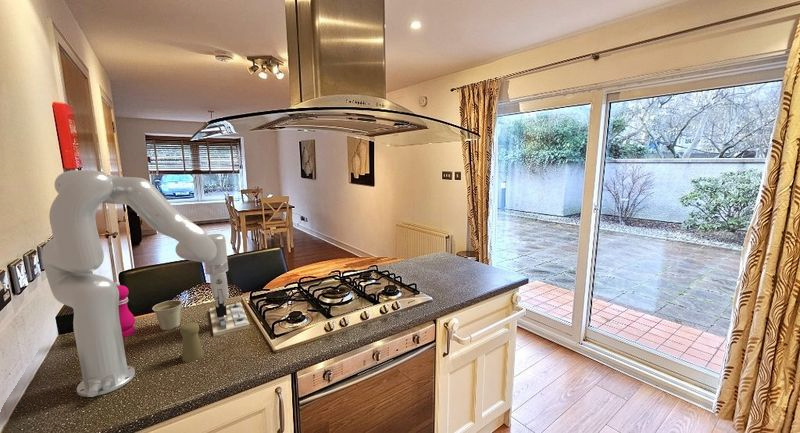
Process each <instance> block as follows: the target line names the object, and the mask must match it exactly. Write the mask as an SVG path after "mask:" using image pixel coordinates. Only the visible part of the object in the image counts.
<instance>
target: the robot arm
mask: <svg viewBox="0 0 800 433" xmlns="http://www.w3.org/2000/svg"><path fill="white" fill-rule="evenodd" d="M54 189H55V191H56V193H57V195H56V197H55V198H54V199H53V201H52V203H51V205H50V209H49V216H48V217H49V218H48V219H49V224H50V228H51V229H50V230H51V233H52V238H51V239H49V240H48V241H47V242H46V244H45V245H44V246H43V248H42V250H41V251H42V252H41V261H42V265H43V268H44V272H45V275H46V279H47V281H48V285H49V288H50V291H51V293H52V296H53V298H55V300H57V302H59V303H61V304H62V305H65V306H67V307H70V308H72V309H73V320H72V321H73V322H72V324H73V326H72V327H73V335H74V339H75V343H76V349H77V356H78V360H79V365H80V366H79V367H80V372H81V378H82V380H81V382H80V383H79V384H78V385H77V387H76V393H77V395H78V396H80V397H85V398H90V397H91V398H93V397H98V396H101V395H105V394H108V393H111V392H113V391H116V390H118V389H119V388H122V387H124V386H125V385H127V384H128V383H129V382H131V381H132V380H133V378H134V377H135V375H136V371H135V370H136V369H135V368H134V367H133V366H130V365H128V364H127V363H128V362H127V358H126V350H125V345H124V338H123V337H122V331H121V325H120V319H119V291H118V288H117V286H116V284H115V282H114V281H113V280H112V279H110V278H108V277H105V276H102V275H99V274H96V273H95V274H94V271H96V270H97V269H99V268H100V267H101V265H102V264H103V263H104V259H105V255H104V249H103V245H102V243H101V239H100V236H99V232H98V231H99V230H98V228H97V221H96V215H97V214H96V213H97V211H98V209H99V207H100V206H101V204H109V205H110V204H111V205H125V206H129V207H130V209H132V210H133V211H134V212H135V213H136V214H137V215H138V216H139V217H140V218H141V219H142V220H143V221H144V222H146V224H147V225H148V226H149V227H150V228H152V229H153V230H154V231H156V232H158V233H160V234H161V235H164V236H165V237H166V236H167V237H169V238H171V239H174V240H175V241H177V244H176V245H175V249H174V250H175V253H176V255H177V256H178V257H179V258H180V259H183V260H188V261H192V262H198V263H204V271H205V275H209V282H210V288H211V293H212V296H213V300H214V301H215V304H214V306H215V305H216V303H217V307H216V313H217V317H222V316H226V315H227V311H226V305H225V303H226V300H225V299H229V297H230V295H229V287H228V278H227V273H226V272H228V271H229V263H228V262H229V261H228V252H227V251H228V250H227V243H226V237H225V235H224V234H221V233H213V234H211V233H210V234H208V233H206V232H205V230H204V229H202V227H200V226H198V225H197V224H195V223H194V222H193V221H192V220H190V219H189V218H187V217H186V216H185V215H183V214H181V213H180V211H178V210H177V209H176V208H175V207H174V206H173V205H172V204H171V203H170V201H168V200H167V198H166V197H165V196H164V195H163V194H162V193H161V191H159V190H158V189H157V188H156V186H155V185H154V184H153V183H151V181H149V179H146V178H144V177H138V176H137V177H135V176H133V177H132V176H116V175H109V174H107V173H105V172H103V171H99V170H93V169H84V170H83V169H80V170H79V169H78V170H77V169H73V170H72V169H71V170H67V171H65V172H61V173H60V174H59V175H58V176H56V178H55V181H54Z"/></svg>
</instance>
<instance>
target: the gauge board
mask: <svg viewBox="0 0 800 433" xmlns="http://www.w3.org/2000/svg"><path fill="white" fill-rule="evenodd" d="M225 305H226V311H227V314H228V313H233V312H237V311H239V313H240V317H238V314H235V315H231V316H227V317H228V322H226V319H222V320H219V324H217V317H216V316H217V313H216V305H215V304H214V307H211V308H209V315H210V321H211V328H212V334H213V337H217V336H221V335H224V334H229V333H232V332H233V333H234V332H237V331H241V330H245V329H249V328H250V327H251V324H250V322H249V319H248V317H247V315H246V312H245V309H244V307H243V303H242V302H241V301H239V302H237V301H231V302H225Z"/></svg>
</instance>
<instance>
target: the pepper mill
mask: <svg viewBox="0 0 800 433" xmlns="http://www.w3.org/2000/svg"><path fill="white" fill-rule="evenodd" d="M114 283H115V284H116V286H117V288H118V291H119V319H120V325H121V331H122V337H123V339H124V338H127V337H130V336H132V335H134V334H135V333H136V327H135V326H134V325H135V324H136V318H135V316H134V314H133V313H132V312H131V311H130V309H129V307H128V302H129V298H128V296H129V288H128V287H127V286H125V285H122V284H120V283H121V282H118V281H115V282H114Z"/></svg>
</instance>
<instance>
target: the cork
mask: <svg viewBox="0 0 800 433" xmlns="http://www.w3.org/2000/svg"><path fill="white" fill-rule="evenodd" d="M179 332H180V335H181V336H182V351H181V352H182V354H181V355H182V356H181V360H182V361H183V362H185V363H187V362H189V363H190V362H194V361H197V360H200V359H201V358H202V357H203V356H204V355H205V353H204V350H203V346H202V342H201V339H200V336H199V332H200V325H199V324H198V323H197V322H188V323H185V324H183V325H181V327H180V330H179Z"/></svg>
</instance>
